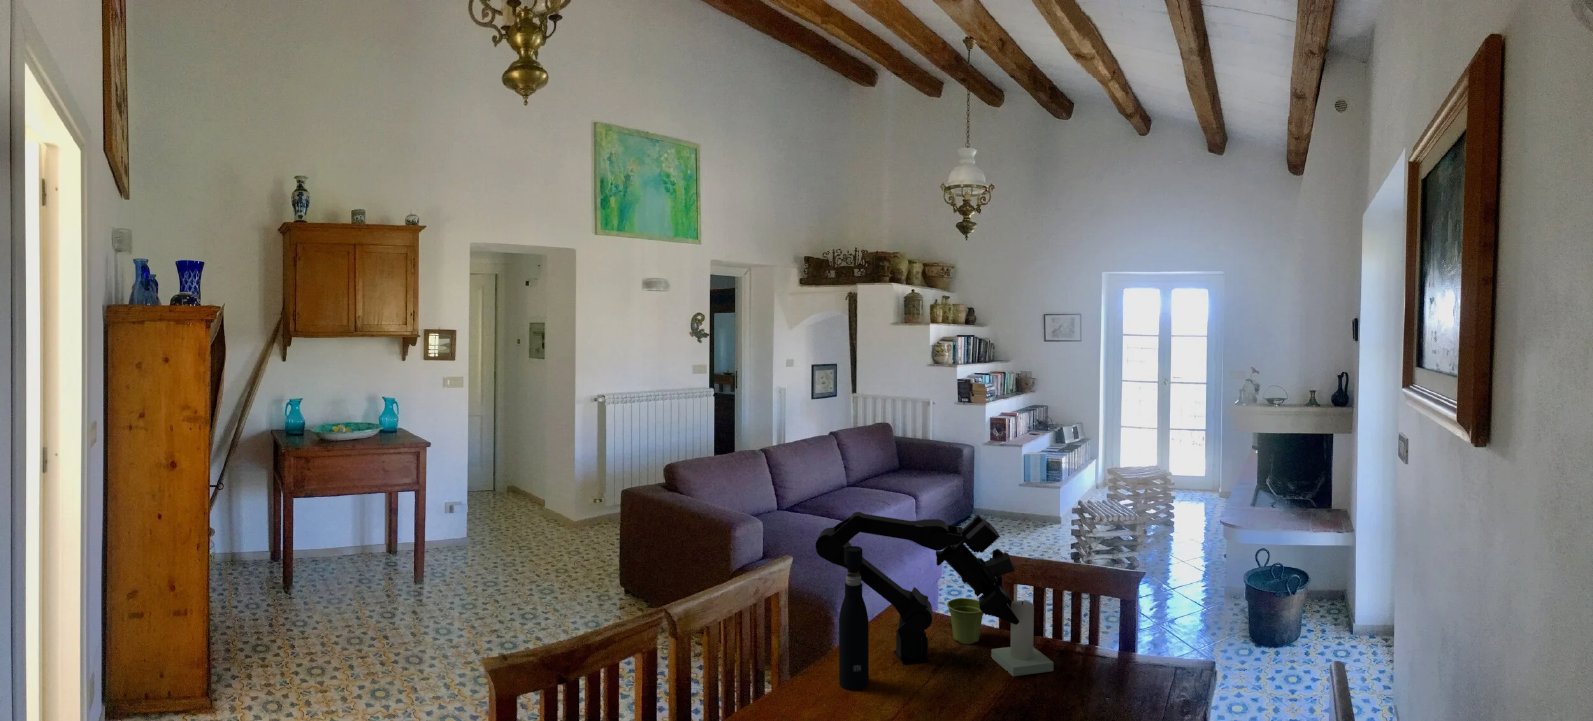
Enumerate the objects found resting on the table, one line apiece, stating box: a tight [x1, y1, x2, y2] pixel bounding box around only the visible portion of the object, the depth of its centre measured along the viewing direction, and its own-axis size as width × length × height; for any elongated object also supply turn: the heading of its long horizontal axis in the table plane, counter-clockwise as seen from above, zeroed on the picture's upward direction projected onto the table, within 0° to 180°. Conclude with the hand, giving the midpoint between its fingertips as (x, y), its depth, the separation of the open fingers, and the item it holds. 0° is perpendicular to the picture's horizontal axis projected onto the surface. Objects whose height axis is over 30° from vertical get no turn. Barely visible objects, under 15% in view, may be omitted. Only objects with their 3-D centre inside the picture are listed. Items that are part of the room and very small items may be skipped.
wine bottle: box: [838, 545, 870, 691], centre depth 178 cm, size 6×6×30 cm
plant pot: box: [946, 597, 985, 645], centre depth 202 cm, size 9×9×9 cm
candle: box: [1010, 599, 1035, 660], centre depth 187 cm, size 5×5×13 cm
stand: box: [990, 646, 1054, 677], centre depth 188 cm, size 10×10×2 cm
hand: (1015, 615), depth 187 cm, fingers open, 9 cm apart
